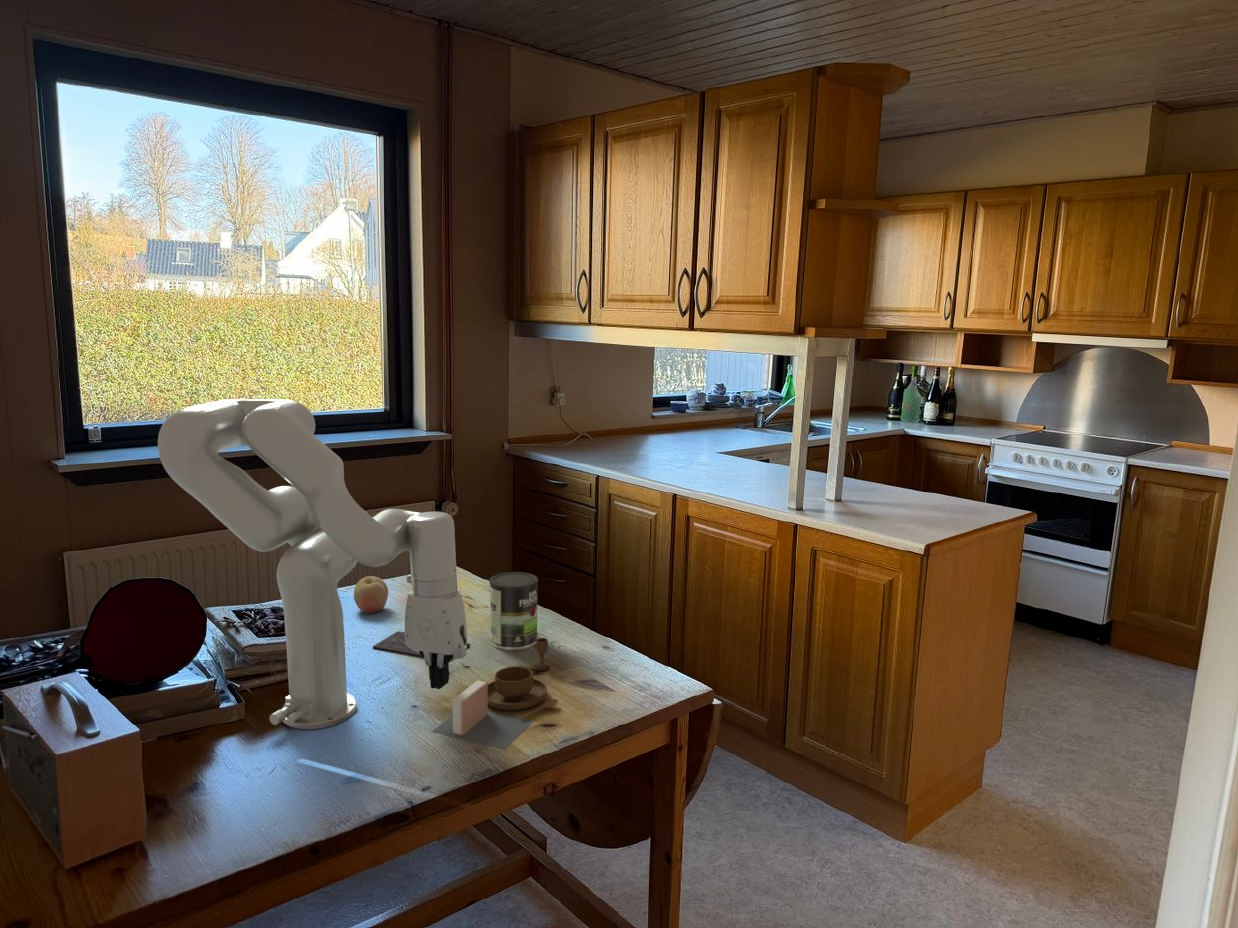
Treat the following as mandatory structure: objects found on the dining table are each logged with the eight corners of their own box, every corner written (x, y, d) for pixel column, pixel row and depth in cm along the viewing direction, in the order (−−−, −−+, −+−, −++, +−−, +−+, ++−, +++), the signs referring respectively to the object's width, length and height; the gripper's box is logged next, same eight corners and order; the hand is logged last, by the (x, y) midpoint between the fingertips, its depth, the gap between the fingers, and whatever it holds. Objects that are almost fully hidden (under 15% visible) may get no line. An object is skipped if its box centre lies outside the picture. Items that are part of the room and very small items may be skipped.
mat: (505, 752, 134) (504, 748, 134) (432, 734, 139) (431, 731, 139) (533, 724, 144) (533, 721, 144) (463, 708, 149) (463, 705, 149)
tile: (463, 735, 138) (462, 702, 137) (453, 732, 139) (452, 699, 138) (487, 713, 146) (487, 682, 144) (477, 711, 146) (477, 680, 145)
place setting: (459, 694, 154) (458, 664, 153) (541, 663, 168) (540, 635, 167) (518, 724, 142) (517, 692, 141) (601, 688, 156) (601, 658, 155)
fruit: (349, 616, 191) (347, 583, 189) (360, 604, 199) (359, 572, 197) (383, 617, 191) (382, 584, 189) (393, 605, 198) (392, 573, 197)
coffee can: (547, 638, 181) (547, 576, 178) (519, 654, 172) (519, 590, 169) (509, 628, 186) (508, 568, 183) (480, 644, 177) (479, 581, 174)
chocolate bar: (397, 631, 182) (469, 643, 176) (397, 635, 182) (470, 647, 176) (372, 646, 173) (447, 660, 167) (372, 650, 173) (447, 664, 168)
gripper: (384, 586, 140) (390, 687, 143) (460, 597, 134) (465, 702, 138) (410, 573, 146) (416, 670, 150) (484, 583, 141) (488, 683, 144)
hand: (439, 685), depth 144 cm, fingers closed
